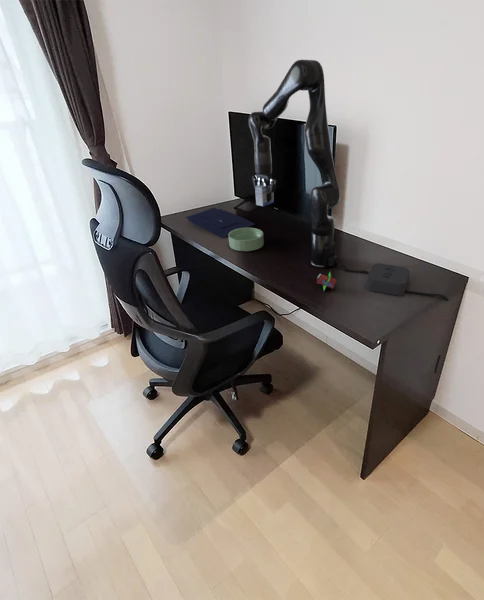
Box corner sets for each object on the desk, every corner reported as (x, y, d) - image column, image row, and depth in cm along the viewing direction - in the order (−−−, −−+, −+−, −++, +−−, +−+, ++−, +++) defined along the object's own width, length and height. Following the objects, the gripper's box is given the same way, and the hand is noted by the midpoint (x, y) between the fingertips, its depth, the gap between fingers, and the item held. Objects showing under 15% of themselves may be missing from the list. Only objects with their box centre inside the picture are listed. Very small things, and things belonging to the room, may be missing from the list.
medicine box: (263, 206, 169) (262, 187, 164) (255, 205, 171) (254, 186, 167) (274, 202, 174) (273, 184, 170) (267, 201, 177) (266, 182, 172)
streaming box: (372, 273, 151) (374, 262, 148) (408, 280, 147) (410, 268, 144) (364, 290, 140) (366, 278, 137) (403, 297, 135) (405, 285, 133)
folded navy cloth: (216, 211, 212) (216, 205, 210) (255, 228, 199) (256, 222, 197) (182, 223, 195) (182, 216, 193) (222, 242, 182) (222, 236, 180)
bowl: (270, 244, 176) (270, 233, 173) (245, 254, 165) (244, 243, 162) (247, 235, 185) (247, 225, 182) (222, 245, 174) (221, 234, 171)
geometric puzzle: (339, 279, 142) (328, 264, 139) (341, 288, 136) (329, 272, 133) (324, 289, 144) (312, 274, 141) (325, 298, 138) (313, 283, 135)
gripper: (245, 161, 164) (248, 199, 173) (268, 165, 157) (270, 205, 166) (258, 158, 169) (260, 195, 178) (280, 162, 161) (281, 201, 170)
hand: (265, 200), depth 172 cm, fingers closed on medicine box, 4 cm apart
